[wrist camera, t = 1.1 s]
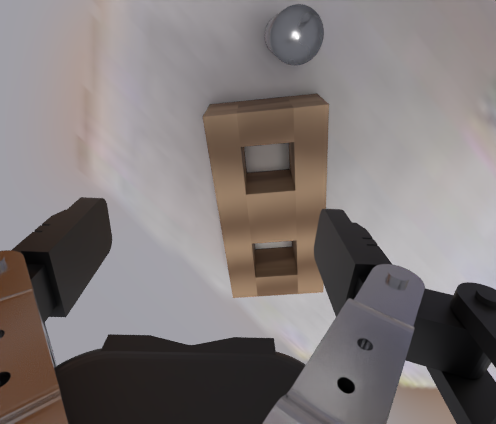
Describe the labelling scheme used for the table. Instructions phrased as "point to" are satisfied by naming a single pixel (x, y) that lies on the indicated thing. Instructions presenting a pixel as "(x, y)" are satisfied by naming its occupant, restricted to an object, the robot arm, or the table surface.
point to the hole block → (270, 191)
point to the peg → (295, 34)
